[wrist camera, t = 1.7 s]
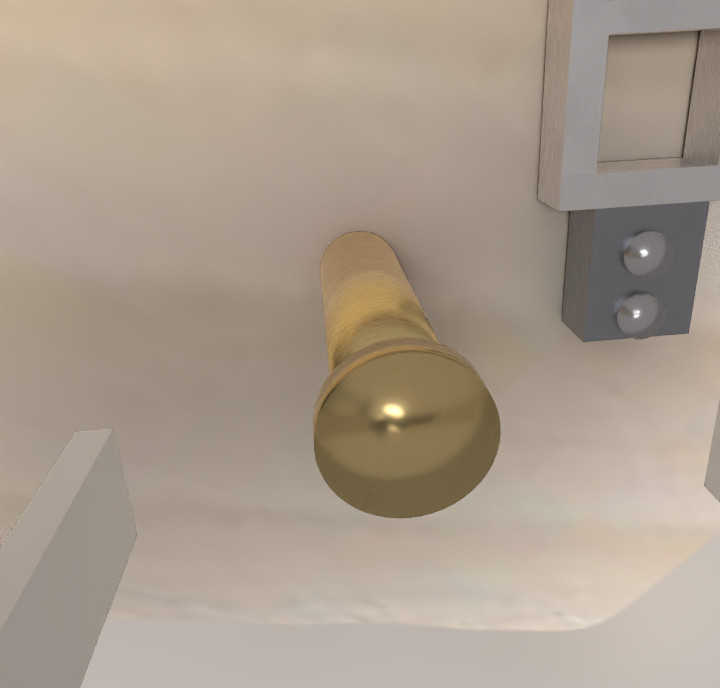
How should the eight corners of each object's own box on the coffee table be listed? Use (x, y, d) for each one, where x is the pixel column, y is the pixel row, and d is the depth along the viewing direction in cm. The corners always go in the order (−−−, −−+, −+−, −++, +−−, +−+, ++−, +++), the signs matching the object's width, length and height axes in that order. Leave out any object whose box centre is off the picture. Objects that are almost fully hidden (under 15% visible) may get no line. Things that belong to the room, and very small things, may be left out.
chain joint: (689, 310, 29) (727, 334, 26) (530, 323, 29) (553, 348, 26) (769, -193, 22) (831, -228, 19) (559, -186, 21) (594, -220, 19)
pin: (312, 320, 28) (321, 526, 15) (303, 222, 26) (306, 364, 14) (410, 313, 28) (497, 509, 16) (408, 215, 26) (503, 348, 14)
